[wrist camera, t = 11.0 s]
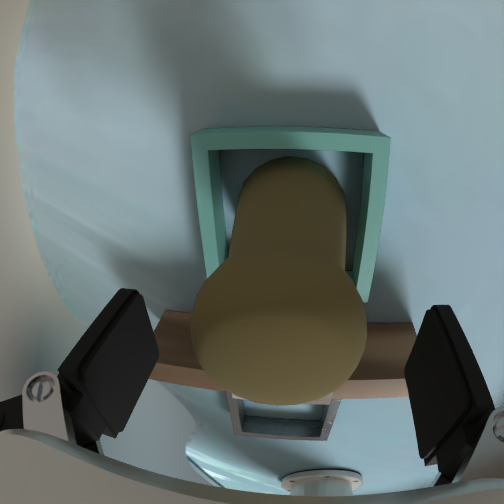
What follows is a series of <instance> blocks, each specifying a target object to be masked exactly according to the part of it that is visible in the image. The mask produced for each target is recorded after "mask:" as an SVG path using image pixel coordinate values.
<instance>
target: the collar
mask: <svg viewBox="0 0 504 504" xmlns="http://www.w3.org/2000/svg"><path fill="white" fill-rule="evenodd" d="M390 139H391V138H390V137H388V136H387V135H385V134H383V133H382V132H378V131H368V130H355V129H341V128H321V127H232V128H212V129H202V130H200V131H197V132H195V133H193V134H191V135H190V140H191V151H192V161H193V171H194V180H195V189H196V198H197V207H198V215H199V223H200V231H201V239H202V246H203V254H204V261H205V268H206V275H207V278H208V277H209V276H210V275H211V274H212V273H213V272H214V271H215V270H216V269H217V268H218V267H219V265H221V264H222V263H223V262H224V261H225V260H226V259H227V258H228V254H227V243H226V232H225V221H224V209H223V197H222V185H221V172H220V159H219V150H227V149H309V150H333V151H350V152H364V166H363V180H362V192H361V203H360V213H359V222H358V231H357V239H356V247H355V254H354V261H353V268H352V271H346V273H347V274H348V275H349V277H350V278H351V280H352V281H353V283H354V285H355V287H356V289H357V290H358V292H359V294H360V296H361V298H362V300H363V302H368V297H369V293H370V288H371V283H372V278H373V273H374V267H375V262H376V256H377V251H378V245H379V238H380V232H381V225H382V218H383V211H384V203H385V195H386V186H387V176H388V166H389V153H390Z"/></svg>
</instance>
